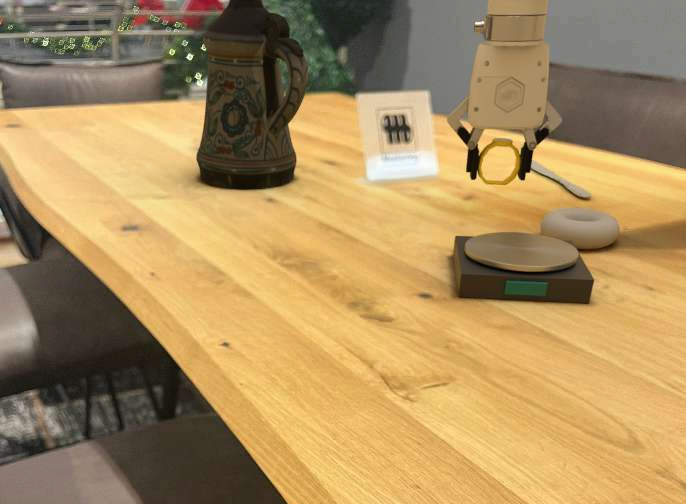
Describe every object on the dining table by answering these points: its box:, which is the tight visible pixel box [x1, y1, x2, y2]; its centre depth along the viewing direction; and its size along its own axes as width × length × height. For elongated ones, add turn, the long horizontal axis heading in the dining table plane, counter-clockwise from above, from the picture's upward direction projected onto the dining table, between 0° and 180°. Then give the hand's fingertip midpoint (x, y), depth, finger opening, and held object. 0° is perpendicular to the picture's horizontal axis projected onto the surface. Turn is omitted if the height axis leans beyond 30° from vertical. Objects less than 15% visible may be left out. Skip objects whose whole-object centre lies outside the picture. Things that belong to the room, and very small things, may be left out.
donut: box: [539, 207, 621, 250], centre depth 100 cm, size 10×4×10 cm
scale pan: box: [465, 231, 580, 272], centre depth 87 cm, size 13×13×1 cm
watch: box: [477, 137, 521, 186], centre depth 108 cm, size 6×3×6 cm, turn 94°
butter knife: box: [531, 159, 593, 199], centre depth 129 cm, size 1×27×3 cm
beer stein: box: [195, 0, 309, 190], centre depth 120 cm, size 16×19×25 cm
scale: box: [452, 235, 595, 304], centre depth 87 cm, size 14×14×3 cm
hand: (497, 176), depth 109 cm, fingers closed on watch, 6 cm apart
